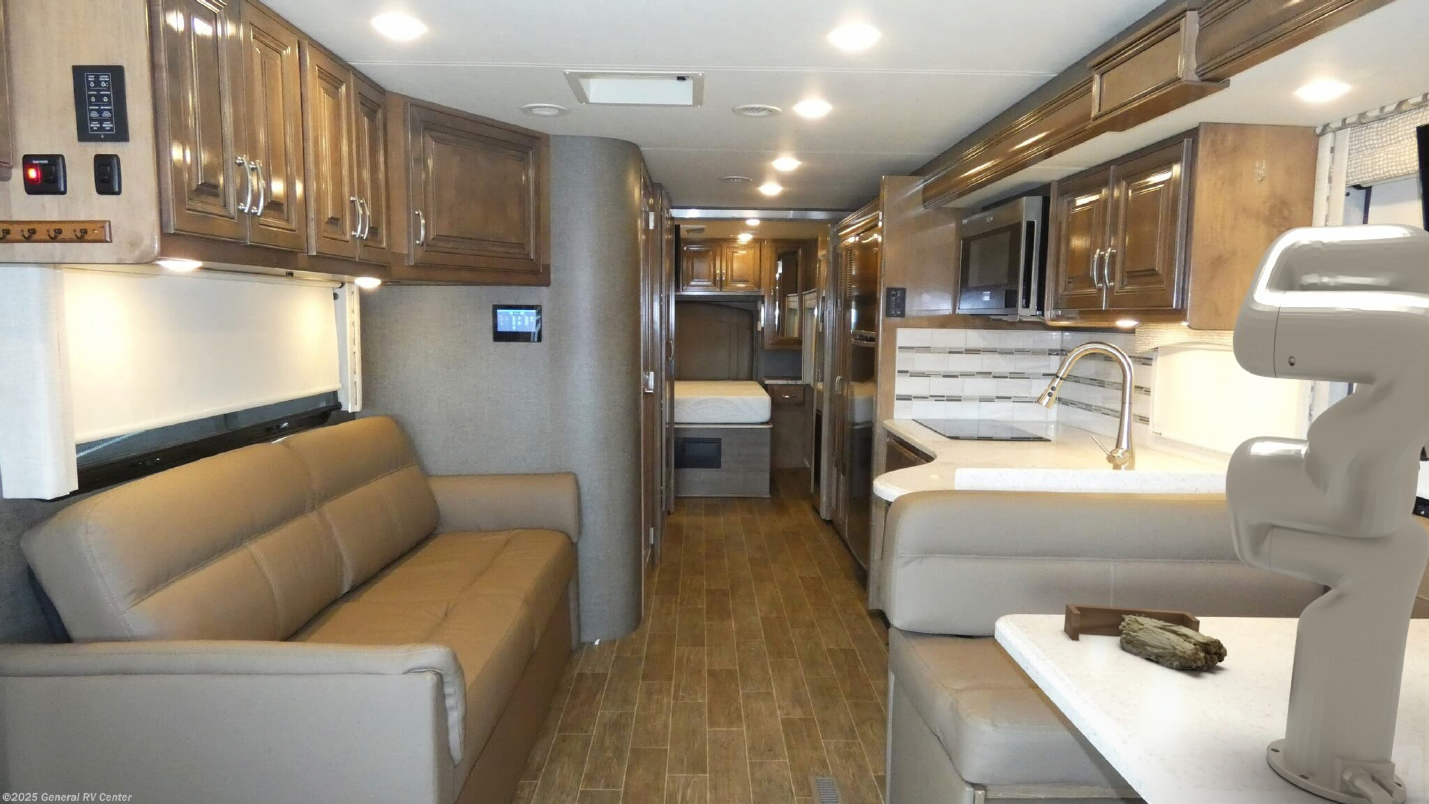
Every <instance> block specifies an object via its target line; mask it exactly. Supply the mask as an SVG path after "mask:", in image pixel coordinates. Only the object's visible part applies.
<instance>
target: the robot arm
mask: <svg viewBox="0 0 1429 804" xmlns="http://www.w3.org/2000/svg"><path fill="white" fill-rule="evenodd" d="M1240 305H1241V306H1240V308H1239V312H1238V314H1237V316H1236V320H1235V323H1234V327H1233V335H1232V346H1233V347H1232V349H1233V354H1234V357H1235V359H1236V361H1237V363H1238V365H1239V366H1240V367H1241V368H1242V369H1243V370H1244V371H1246V372H1248V373H1250V374H1251V375H1255V376H1256V377H1257V376H1258V377H1262V378H1263V377H1264V378H1272V379H1283V380H1284V379H1285V380H1299V381H1300V380H1302V381H1304V380H1305V381H1314V382H1315V381H1317V382H1318V381H1319V382H1329V383H1330V382H1332V383H1344V384H1345V383H1348V384H1356V386H1355V389H1354V392H1353V393H1351V394H1348V395H1345V397H1342V398H1341V399H1339V400H1338V401H1337V402H1335V403H1334V404H1332V405H1331V406H1330V407H1328V408H1326V409H1325V410H1324V411H1323V412H1322V413H1320V414H1319V415H1318V416H1317V417H1316V418H1315V419H1314V421H1312V422H1311V424H1310V426H1309V429H1308V430H1307V436H1306V439H1302V438H1292V437H1282V436H1269V435H1268V436H1267V435H1266V436H1265V435H1264V436H1263V435H1262V436H1255V437H1251V438H1248V439H1246V440H1244V441H1243V442H1241V443H1240V444H1239V445H1238V446H1237V447H1236V448H1235V449H1234V451H1233V453H1232V455H1231V457H1230V459H1229V462H1228V465H1227V470H1226V475H1225V499H1226V507H1227V513H1228V518H1229V519H1228V520H1229V524H1230V525H1229V526H1230V531H1231V538H1232V543H1233V546H1234V547H1233V548H1234V551H1235V553H1236V556H1237V557H1238V559H1239V560H1240V561H1241V562H1242V563H1243V564H1244V565H1245V566H1247V567H1248V568H1249V567H1250V568H1252V569H1254V570H1256V571H1257V570H1258V571H1261V572H1264V573H1265V572H1266V573H1270V574H1274V575H1279V576H1285V577H1290V578H1295V579H1299V580H1305V581H1310V582H1315V583H1317V584H1321V585H1323V586H1324V585H1325V586H1327V587H1330V588H1331V590H1329V591H1328V592H1326V593H1324V594H1323V595H1321V596H1319V597H1318V598H1316V599H1315V600H1313V601H1312V602H1311V603H1309V604H1308V605H1307V606H1306V607H1305V608H1304V610H1303V611H1302V612H1301V614H1300V616H1299V617H1298V618H1299V619H1298V621H1297V627H1296V636H1295V643H1294V654H1293V662H1292V670H1291V681H1290V689H1289V698H1288V705H1287V706H1288V707H1287V714H1286V715H1287V717H1286V726H1285V732H1284V733H1285V734H1284V735H1285V736H1284V738H1280V739H1276V740H1274V741H1271V742H1270V743H1269V744H1268V745H1267V748H1266V754H1265V755H1266V760H1267V763H1268V764H1269V766H1271V768H1272V769H1273V770H1274V771H1275V772H1276V773H1278V775H1280V776H1281V777H1283V778H1284V779H1285V780H1288V782H1290V783H1291V784H1294V785H1296V786H1298V787H1300V788H1301V789H1303V790H1305V791H1307V792H1309V793H1312V794H1314V795H1317V796H1320V797H1323V798H1325V799H1328V800H1332V801H1334V802H1338V803H1341V804H1403V803H1404V801H1405V800H1406V798H1407V787H1406V784H1405V783H1404V781H1403V780H1402V779H1401V777H1399V776H1398V774H1396V773H1395V770H1396V764H1395V763H1394V762H1393V761H1392V756H1393V754H1392V753H1393V748H1394V741H1395V740H1394V738H1395V733H1396V731H1395V730H1396V725H1397V724H1396V723H1397V717H1398V709H1399V701H1400V695H1401V694H1400V693H1401V686H1402V679H1403V678H1402V677H1403V671H1404V663H1405V655H1406V647H1407V646H1406V645H1407V640H1408V633H1409V629H1410V622H1411V616H1412V612H1413V608H1414V605H1415V601H1416V597H1417V593H1418V590H1419V588H1420V585H1421V582H1422V579H1423V577H1424V573H1425V570H1426V567H1427V565H1428V560H1429V533H1428V531H1427V529H1426V527H1425V526H1424V525H1423V524H1422V523H1421V522H1420V521H1419V520H1418V519H1416V518H1415V517H1413V516H1412V515H1413V511H1414V509H1415V506H1416V505H1415V504H1416V500H1417V493H1418V492H1417V491H1418V483H1419V471H1420V470H1421V465H1420V464H1421V462H1429V231H1427V230H1425V229H1424V228H1421V227H1418V226H1414V225H1411V224H1402V223H1367V224H1366V223H1364V224H1363V223H1362V224H1341V225H1339V224H1338V225H1321V226H1320V225H1316V226H1313V225H1312V226H1302V227H1301V226H1300V227H1294V228H1291V229H1289V230H1286V231H1284V232H1283V233H1281V234H1279V236H1278V237H1276V238H1275V239H1274V240H1273V241H1272V242H1271V243H1270V244H1269V246H1268V248H1267V249H1266V250H1265V252H1264V254H1262V257H1261V258H1260V260H1259V262H1258V265H1257V267H1256V269H1255V271H1254V274H1253V276H1252V279H1251V282H1250V284H1249V286H1248V288H1247V292H1246V294H1245V296H1244V299H1243V301H1242V303H1241V304H1240Z"/></svg>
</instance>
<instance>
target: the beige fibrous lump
mask: <svg viewBox="0 0 1429 804" xmlns="http://www.w3.org/2000/svg"><path fill="white" fill-rule="evenodd" d="M1136 615H1137V614H1136ZM1137 616H1138V615H1137ZM1142 616H1145V615H1143V614H1142ZM1142 616H1141V617H1136V616H1132V615H1129V616H1124V615H1123V618H1124V619H1125V620H1124V622H1122V623H1121V626H1119V630H1120V631H1122V633H1123V634H1122V635H1121V636H1119V637H1120V638H1119V643H1120V645H1121V647H1122V648H1123V649H1124V650H1125V651H1127V652H1128V653H1130V654H1132V655H1134V656H1136V657H1139V656H1140V657H1139V658H1141V659H1144V658H1145V659H1147V658H1148V659H1151V660H1152V661H1154V662H1155V663H1156V664H1159V663H1160V664H1159V665H1162V666H1165V665H1166V666H1165V667H1168V666H1169V667H1168V668H1171V669H1174V668H1176V669H1175V670H1195V671H1203V670H1204V671H1207V670H1210V669H1213V668H1214V667H1215V666H1216V665H1218V664H1219V663H1223V662H1224V661H1225V657H1228V649H1227V648H1226V647H1225V646H1224V644H1223V643H1222V642H1221V640H1219V639H1218V638H1214V637H1212V636H1210V635H1204V634H1202V633H1201V632H1200V631H1199V633H1197V632H1195V631H1193V630H1191V629H1189V628H1186V627H1183V626H1177V625H1174V624H1169V623H1165V622H1163V621H1158V620H1156V619H1152V618H1151V619H1150V618H1144V617H1142Z"/></svg>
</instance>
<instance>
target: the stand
mask: <svg viewBox="0 0 1429 804" xmlns="http://www.w3.org/2000/svg"><path fill="white" fill-rule="evenodd" d="M1136 614H1137V615H1138V616H1137V615H1136ZM1142 614H1143V615H1145V616H1142ZM1123 615H1124V616H1129V615H1132V616H1136V617H1141V616H1142V617H1144V618H1150V619H1151V618H1152V619H1156V620H1158V621H1163V622H1165V623H1169V624H1174V625H1177V626H1183V627H1186V628H1189V629H1191V630H1193V631H1195V632H1197V633H1199V632H1200V625H1201V623H1200V619H1199V618H1197V617H1195V616H1194V615H1193V614H1192V613H1191V612H1189V611H1185V610H1167V609H1153V608H1152V609H1151V608H1137V607H1136V608H1135V607H1121V606H1120V607H1119V606H1118V607H1117V606H1101V605H1087V604H1086V605H1084V604H1074V603H1073V604H1072V603H1066V604H1065V613H1064V626H1063V631H1064V632H1065V633H1066V635H1067V636H1068V637H1069V638H1070V640H1071V641H1079V640H1080V635H1094V636H1095V635H1097V636H1112V637H1121V635H1122V634H1123V633H1122V631H1120V630H1119V626H1121V623H1122V622H1124V620H1125V619H1124V618H1123Z"/></svg>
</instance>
